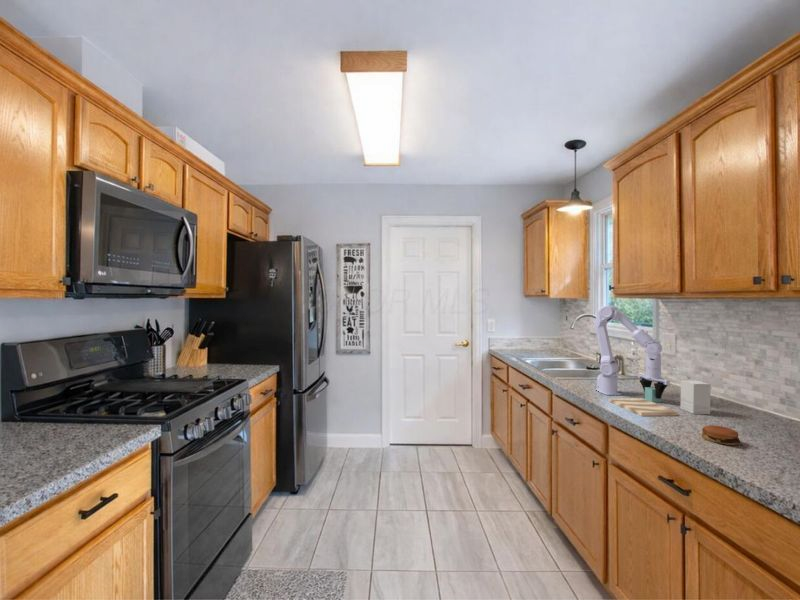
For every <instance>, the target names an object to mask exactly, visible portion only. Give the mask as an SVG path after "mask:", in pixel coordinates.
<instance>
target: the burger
mask: <svg viewBox="0 0 800 600" xmlns="http://www.w3.org/2000/svg"><path fill="white" fill-rule="evenodd" d="M701 430H702V432H701V437H702V438H704V439H703V440H706V441H707V440H708V442H710V443H711V442H712V443H715V442H716V444H721V445H723V444H725V445H724V446H738V444H740V443H741V439H740V438H739V433H738V431H737V430H735V429H732V428H730V427H726V426H721V425H712V424H710V425H705V426H702V429H701Z"/></svg>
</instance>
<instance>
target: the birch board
mask: <svg viewBox="0 0 800 600" xmlns="http://www.w3.org/2000/svg"><path fill="white" fill-rule="evenodd" d="M608 401H609V403H611V404H613V405H615V406H618V407H620V408H623V409H624V410H627V411H628V412H631V413H633V414H635V415H638V416H640V417H659V416H660V417H663V416H664V417H669V416H672V417H673V416H674V417H675V416H679V411H677V410H674V409H672V408H669V407H666V406H663V405H661V404H659V403H657V402H651V401H648V400H645V398H641V397H639V398H636V397H635V398H633V397H631V398H609V399H608Z"/></svg>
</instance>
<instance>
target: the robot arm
mask: <svg viewBox="0 0 800 600" xmlns="http://www.w3.org/2000/svg"><path fill="white" fill-rule="evenodd" d="M611 320H613V321H617V322H619V323H621V324H622V326H624V327H625V328H626V329H627V330H628V331H630V332H631V333H632V338H633V339H634V340H635V341H636V342H637V343H638V344H639V345H640V346H641V347H642V348H644V352H645V354H646V357H645V374H643V373H639V374H637V378H638V379H639V383H640V385H641V386H642V389H643V392H644V394H645V387H652V383H653V387H655V390H656V398H657V399H661V400H662V396H663V393H664V391H665V389H666V388H667V387H668V386H670V385H671V384H670V383H671V380H668V379H666V378H663V377H661V376H662V372H661V371H662V353H661V352H662V351H663V346H662V344H661V343H660V342H658V341H657V339H655V338H653V337H652V336H651V335H650V334H648V333H649V332H648V330H644V329H642V328H639V327H637V326H636V325H635V323H634V322H633V321H631V320H630V319H629V318H628V316H626V314H625V313H624V312H622V310H620V309H618V307H616V306H615V305H603V306H601V308H599V309H598V310H597V313H596V317H595V319H594V322H593V323H594V324H593V325H594V329H595V335H596V338H597V343H598V348H599V353H600V357H601V358H600V362H599V363H600V366H599V371H600V374H598V375H597V378H596V388H595V389H594V391H596V390H597V391H596V392H598V391H599V392H598V393H600V394H603V395H605V396H621V395H622V393H620V392H618V384H619V383H618V378H619V377H618V376H619V375H618V372H619V369H620V367H619V364H618V363H617V362H616V358H615V357H614V356H613V351H612V347H611V342H610V338H609V333H608V328H607V325H608V323H609V322H610V321H611Z"/></svg>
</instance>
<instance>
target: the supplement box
mask: <svg viewBox="0 0 800 600" xmlns="http://www.w3.org/2000/svg"><path fill="white" fill-rule="evenodd" d="M711 387H712V386H711V383H707V382H704V381H700V380H693V379H691V380H688V379H687V380H683V379H682V380H680V407H679V408H680V409H681V410H682V411H685V412H688V413H691V414H692V415H710V414H711Z"/></svg>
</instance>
